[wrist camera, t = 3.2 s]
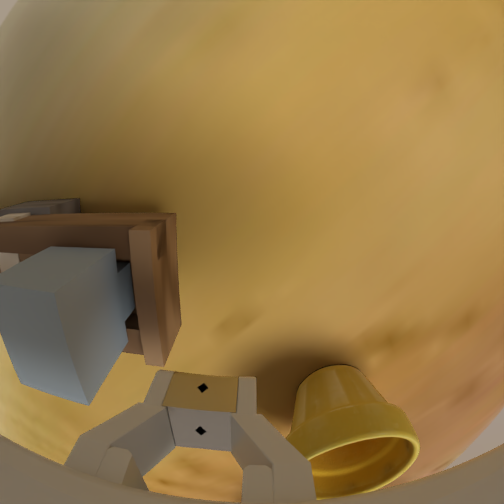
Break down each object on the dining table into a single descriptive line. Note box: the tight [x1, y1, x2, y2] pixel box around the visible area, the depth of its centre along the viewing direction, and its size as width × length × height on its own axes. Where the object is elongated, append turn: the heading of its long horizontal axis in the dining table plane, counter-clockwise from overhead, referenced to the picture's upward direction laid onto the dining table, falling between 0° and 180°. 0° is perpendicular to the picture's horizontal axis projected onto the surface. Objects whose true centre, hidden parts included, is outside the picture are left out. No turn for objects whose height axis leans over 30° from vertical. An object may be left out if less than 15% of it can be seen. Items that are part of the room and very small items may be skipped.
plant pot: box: [286, 365, 420, 500], centre depth 20 cm, size 10×10×10 cm
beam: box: [0, 198, 181, 367], centre depth 17 cm, size 8×24×8 cm, turn 88°
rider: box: [0, 246, 135, 406], centre depth 12 cm, size 5×4×7 cm
